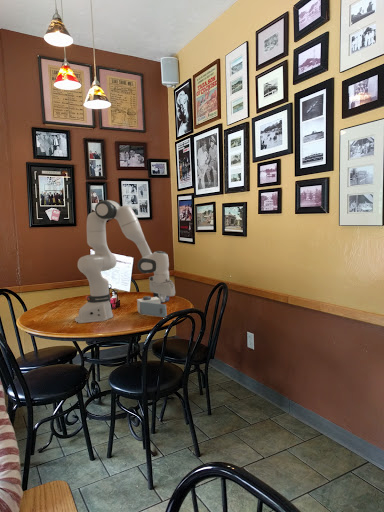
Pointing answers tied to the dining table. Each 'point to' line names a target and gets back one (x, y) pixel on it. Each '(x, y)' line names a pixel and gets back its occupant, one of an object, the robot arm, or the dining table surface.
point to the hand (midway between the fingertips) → (162, 301)
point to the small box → (162, 296)
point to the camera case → (148, 300)
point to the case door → (153, 309)
